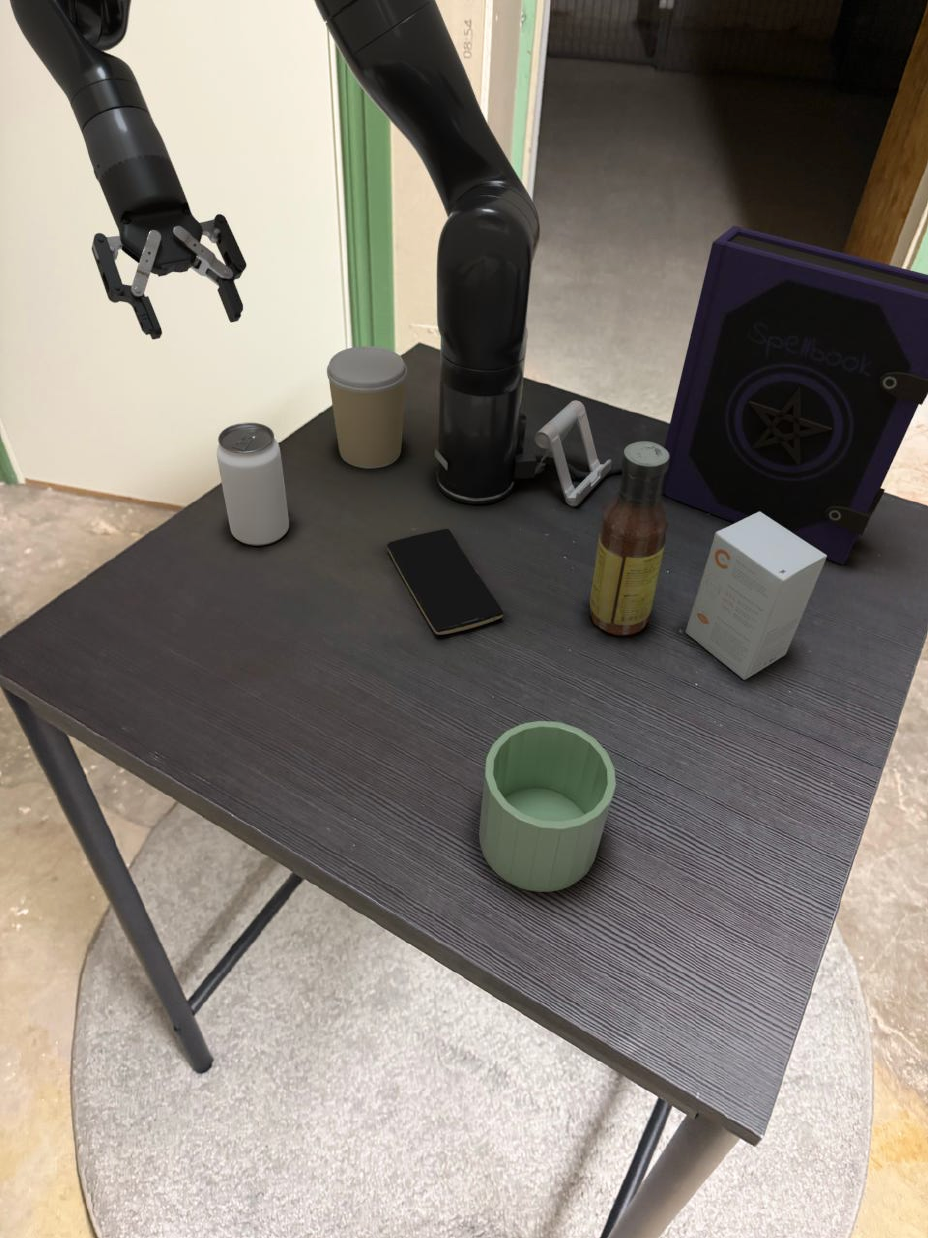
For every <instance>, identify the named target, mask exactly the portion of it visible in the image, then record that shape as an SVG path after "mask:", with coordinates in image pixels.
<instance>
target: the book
mask: <svg viewBox="0 0 928 1238" xmlns="http://www.w3.org/2000/svg"><path fill="white" fill-rule="evenodd" d="M695 311H696V312H695V315H694V320H693V324H692V328H691V332H690V337H689V340H688V345H687V349H686V353H685V357H684V361H683V367H682V370H681V375H680V379H679V383H678V387H677V392H676V394H675V395H676V396H675V400H674V405H673V408H672V413H671V417H670V421H669V425H668V428H667V433H666V438H665V442H664V446H663V448H665V449H666V450H667V451H668V453H669V455H670V459H669V467H668V470H667V472H666V473H665V475H664V480H663V485H662V495H665V496H666V497H667V498H670V499H672V500H675V501H677V502H679V503H682V504H685V505H688V506H690V507H693V508H695V509H698V510H700V511H703V512H705V513H707V514H710V515H713V516H715V517H719V518H721V519H723V520H726V521H729V522H731V523H733V524H735V523H737V522H739V521H741V520H743V519H745V518H747V517H749V516H751V515H753V514H755V513H757V512H762V513H763V514H765V515H766V516H767V517H769V518H771V519H772V520H774V521H775V522H777V523H778V524H780V525H781V526H783V527H784V528H786V529H787V530H789V531H790V532H792V533H793V534H795V535H796V536H798V537H799V538H801V539H803V540H804V541H806V542H807V543H809V544H810V545H812V546H813V547H815V548H816V549H818V550H819V551H821V552H822V553H824V554H826V555H827V557H826V560H829V561H831V562H834V563H836V564H838V565H842V566H844V565H845V563H846V561H847V559H848V556H849V554H850V552H851V550H852V548H853V547H854V546H853V545H856V543H857V540H858V539H859V536H863V534H864V532H865V530H866V528H867V526H868V525H869V523H870V521H871V519H872V517H873V515H874V514H875V511H876V510H877V508H878V506H879V504H880V503H881V499H882V498H883V495H884V493H885V491H886V489H885V488H882V486H883V484H884V481H885V479H886V478H887V475H888V473H889V471H890V469H891V466H892V464H893V463H894V460H895V457H896V455H897V454H898V451H899V450H900V447H901V445H902V442H903V440H904V438H905V437H906V433H907V432H908V429H909V427H910V425H911V422H912V420H913V418H914V417H915V414H916V412H917V410H918V408H919V406H922V405H923V404H924V402H925V400H926V398H927V397H928V274H927V273H923V272H918V271H914V270H911V269H907V268H903V267H898V266H895V265H892V264H887V263H884V262H883V263H882V262H879V261H875V260H871V259H868V258H863V257H860V256H855V255H852V254H848V253H844V252H839V251H836V250H832V249H828V248H824V247H821V246H816V245H812V244H808V243H805V242H800V241H797V240H793V239H789V238H786V237H785V238H784V237H781V236H777V235H773V234H769V233H765V232H762V231H758V230H754V229H750V228H743V227H741V226H738V225H732V226H731V227H729V229H727V230H726V231H725V232H724V233H722V235H719V237H717V238H716V239H715V240H713V241H712V244H711V247H710V252H709V256H708V261H707V265H706V269H705V273H704V277H703V280H702V285H701V289H700V293H699V298H698V302H697V306H696V310H695Z"/></svg>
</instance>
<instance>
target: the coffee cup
mask: <svg viewBox="0 0 928 1238" xmlns="http://www.w3.org/2000/svg"><path fill="white" fill-rule="evenodd" d="M326 376H327V379H328V384H329V390H330V398H331V404H332V412H333V419H334V426H335V432H336V438H337V445H338V451H339V454H340V457H341V459H342V460H343V461H344V462H345V463H347V464H348V465H350V466H353V467H356V468H360V469H361V468H362V469H380V468H385V467H387V466H390V465H392V464H394V463H395V462H396V461H397V460H398V459H399V457H400V456H401V452H402V445H403V444H402V443H403V432H404V431H403V430H404V429H403V428H404V418H405V417H404V416H405V415H404V414H405V399H406V398H405V397H406V380H407V376H408V367H407V365H406V363H405V361H404V359H403V357H402V356H401V355H400V354H398V353H397V352H395V351H393V350H391V349H389V348H385V347H381V346H372V345H361V346H353V347H349V348H346V349H343V350H341V351H339V352H337V353H335V354H334V355H333V356H332V357H331V358H330V359H329V362H328V365H327V366H326Z"/></svg>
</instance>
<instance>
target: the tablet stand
mask: <svg viewBox="0 0 928 1238" xmlns="http://www.w3.org/2000/svg"><path fill="white" fill-rule="evenodd" d="M574 425H577V427H578V430H579V434H580V438H581V441H582V446H583V449H584V453H585V457H586V460H587V465H588V468H589V472H590V474H589V475H588V476H587V477H586V478H585V479H582V481H581V482H580V483H579V484H578V485H577V487H575V485H573V482H572V478H571V474H570V473H569V470H568V466H567V463H568V462H567V459H566V455H565V452H564V449H563V444H562V443H563V442H564V440H565V439H566V437H567V436H568V434H569V433H570V431H571V430H572V428H573V427H574ZM533 440H534V442H535V444H536V446H537V447H538V448H540V449H543V450H546V451H545V453H544V454H543V455H542V456H543V457H542V459H541V462H540V463H539V462H537V464H536V470H535V475H536V474H537V473H538V471H539V470H540V469H541V467H545V466H546V465H547V464H545V463H542V461H543V460H544V459H545V458H546V457H552V458H554V462H555V465H556V466H555V465H554V466H555V468H556V472H557V476H558V480H559V484H560V487H561V491H562V494H563V497H564V500H565V503H566V504H567V505H568V506H570V507H574V508H575V507H577V506H578V505H580V504H581V503H582V501H583V500H584V499H585V498H586V497H587V496H588V495H589V494H591V492H592V490H594V489H595V488H596V486H597V485H598V484H599V483H600V482H601V481H603V479H605V477H607V476H606V475H607V474H608V472H609V471H610V470H611V467H612V462H613V461H612V459H610V458H609V459H607V460H606V462H604V464H603V463H602V464H601V463H600V460H599V458H598V455H597V452H596V446H595V443H594V439H593V435H592V431H591V427H590V423H589V419H588V416H587V411H586V408H585V405H584V404H583V402H581V401H580V400H572V401H570V402H569V403H568V404H567V405H566V406H565V407H564V408H563V409H562V410H560V411H559V412H558V413H557V414H556V415H555V416H554V417H552V418H551V419H550V420H549V421H548V422H547V423H546V424H545V425H544V426H542V427H541V428H540V429H539V430H538V431H537V432H536V433H535V434H534V439H533ZM566 462H567V463H566Z"/></svg>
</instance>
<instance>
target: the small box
mask: <svg viewBox="0 0 928 1238" xmlns="http://www.w3.org/2000/svg"><path fill="white" fill-rule="evenodd" d="M826 557H827V555H826V554H824V553H822V552H821V551H819V550H818V549H816V548H815V547H813V546H812V545H810V544H809V543H807V542H806V541H804V540H803V539H801V538H799V537H798V536H796V535H795V534H793V533H792V532H790V531H789V530H787V529H786V528H784V527H783V526H781V525H780V524H778V523H777V522H775V521H774V520H772V519H771V518H769V517H767V516H766V515H765V514H763V513H762V512H757V513H755V514H753V515H751V516H749V517H747V518H745V519H743V520H741V521H739V522H737V523H733V524H731V525H729V526H726V527H724V528H722V529H720V530H716V531H715V533H714V537H713V540H712V544H711V546H710V551H709V553H708V556H707V560H706V563H705V566H704V570H703V573H702V575H701V579H700V582H699V586H698V589H697V592H696V595H695V599H694V603H693V605H692V608H691V611H690V616H689V619H688V622H687V626H686V629H685V634H686V635H688V636H689V637H690V638H691V639H693V640H694V641H695V642H697V643H698V644H699V645H700V646H701V647H703V648H704V649H705V650H706V651H708V652H709V653H710V654H711V655H712V656H713V657H715V658H716V659H717V660H719V661H720V662H721V663H722V664H724V665H725V666H726V667H727V668H728V669H729V670H731V671H732V672H733V673H735V674H736V675H737V676H738V677H739V678H741V679H742V680H744V681H746V680H747V679H749V678H750V677H751V678H752V676H754V675H755V674H757V673H758V672H760V671H763V669H765V668H767V667H768V666H770V665H771V664H773V663H775V662H777V661H778V660H780V659H781V658H783V657H784V656H786V655H787V653H788V651H789V648H790V646H791V643H792V641H793V638H794V636H795V634H796V632H797V629H798V627H799V625H800V623H801V620H802V617H803V615H804V612H805V610H806V607H807V605H808V603H809V601H810V598H811V597H812V594H813V591H814V589H815V588H816V587H815V586H816V583H817V581H818V579H819V576H820V574H821V573H822V569H823V567H824V565H825V562H826V560H827V559H826Z"/></svg>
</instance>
